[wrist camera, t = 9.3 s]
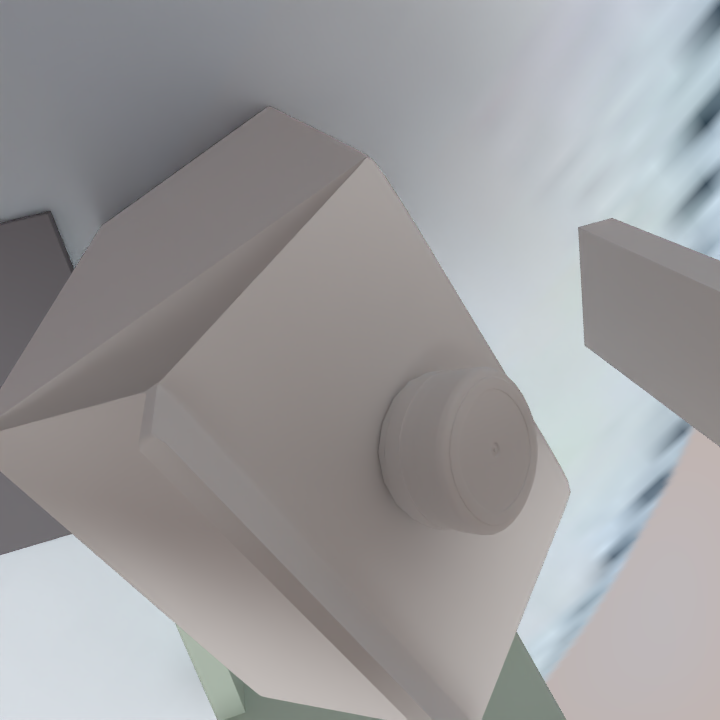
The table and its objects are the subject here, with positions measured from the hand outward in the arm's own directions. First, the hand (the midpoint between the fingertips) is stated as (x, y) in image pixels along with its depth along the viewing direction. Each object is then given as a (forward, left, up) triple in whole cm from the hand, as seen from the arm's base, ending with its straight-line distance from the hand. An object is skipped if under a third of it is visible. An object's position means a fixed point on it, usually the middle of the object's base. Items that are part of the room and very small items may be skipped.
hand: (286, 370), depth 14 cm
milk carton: (0, 0, -12) cm, 12 cm away
